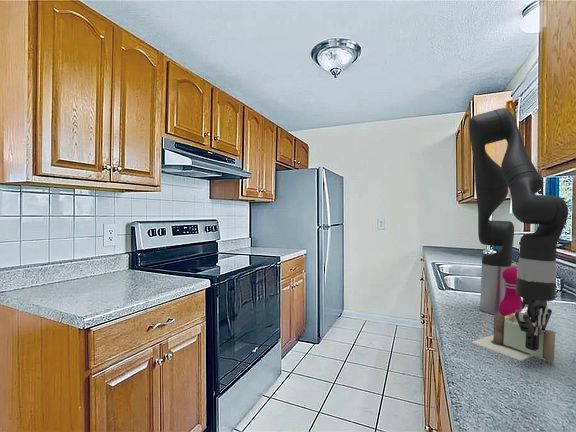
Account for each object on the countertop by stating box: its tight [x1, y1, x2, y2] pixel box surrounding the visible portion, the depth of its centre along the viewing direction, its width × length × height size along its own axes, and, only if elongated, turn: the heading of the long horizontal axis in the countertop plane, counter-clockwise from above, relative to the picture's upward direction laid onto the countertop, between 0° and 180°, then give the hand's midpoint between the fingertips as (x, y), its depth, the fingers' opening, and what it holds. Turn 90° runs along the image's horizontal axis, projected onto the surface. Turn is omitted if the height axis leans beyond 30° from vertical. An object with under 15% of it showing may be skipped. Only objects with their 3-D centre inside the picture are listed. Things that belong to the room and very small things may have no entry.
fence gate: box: [503, 321, 556, 362], centre depth 82 cm, size 11×2×7 cm, turn 28°
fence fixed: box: [493, 310, 521, 345], centre depth 91 cm, size 14×2×8 cm, turn 122°
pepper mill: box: [499, 262, 523, 316], centre depth 104 cm, size 7×7×20 cm
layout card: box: [471, 334, 535, 362], centre depth 87 cm, size 16×12×1 cm
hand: (531, 349), depth 78 cm, fingers closed
